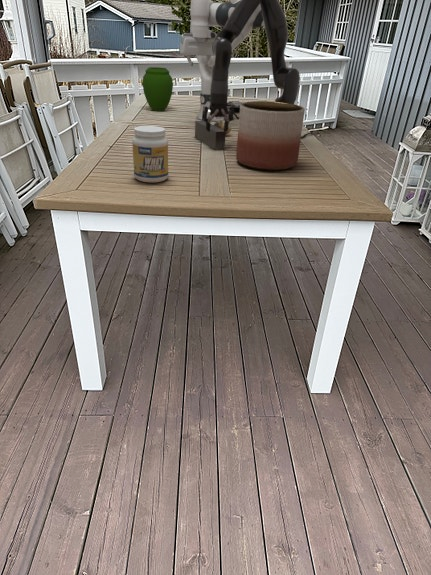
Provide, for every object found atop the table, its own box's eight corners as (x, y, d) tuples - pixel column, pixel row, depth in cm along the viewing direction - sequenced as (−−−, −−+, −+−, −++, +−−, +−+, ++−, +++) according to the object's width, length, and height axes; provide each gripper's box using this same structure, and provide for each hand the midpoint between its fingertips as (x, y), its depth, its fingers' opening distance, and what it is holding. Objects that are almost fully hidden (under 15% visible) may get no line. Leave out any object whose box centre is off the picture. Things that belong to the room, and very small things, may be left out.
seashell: (229, 134, 215) (230, 118, 210) (231, 136, 210) (232, 120, 206) (212, 134, 213) (212, 117, 209) (213, 136, 209) (214, 119, 204)
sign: (225, 107, 272) (224, 100, 297) (225, 111, 274) (224, 105, 299) (253, 108, 272) (250, 101, 298) (253, 113, 274) (250, 106, 299)
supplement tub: (139, 184, 140) (136, 133, 131) (130, 174, 149) (127, 125, 140) (173, 181, 144) (172, 131, 135) (162, 172, 153) (161, 124, 144)
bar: (194, 137, 205) (195, 120, 201) (203, 137, 207) (203, 120, 203) (215, 150, 186) (216, 131, 181) (224, 149, 187) (225, 131, 183)
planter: (305, 172, 161) (315, 112, 150) (243, 172, 157) (248, 110, 146) (285, 155, 183) (293, 101, 171) (230, 155, 178) (233, 100, 167)
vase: (143, 107, 275) (142, 66, 262) (173, 108, 277) (172, 67, 264) (142, 112, 259) (140, 68, 246) (173, 113, 261) (173, 70, 248)
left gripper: (184, 32, 190) (184, 66, 197) (219, 34, 200) (218, 66, 208) (177, 32, 194) (177, 65, 201) (212, 34, 205) (211, 65, 212)
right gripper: (207, 92, 171) (205, 133, 180) (237, 93, 177) (234, 132, 185) (200, 90, 177) (199, 129, 185) (230, 90, 182) (227, 129, 191)
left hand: (198, 66), depth 205 cm, fingers open, 8 cm apart
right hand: (217, 131), depth 185 cm, fingers open, 8 cm apart
